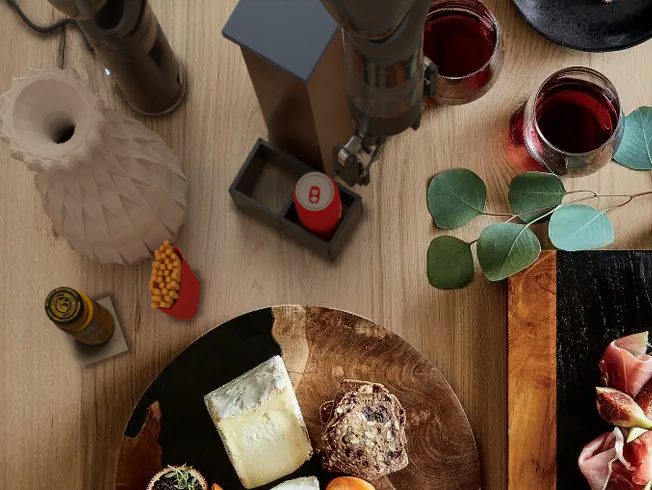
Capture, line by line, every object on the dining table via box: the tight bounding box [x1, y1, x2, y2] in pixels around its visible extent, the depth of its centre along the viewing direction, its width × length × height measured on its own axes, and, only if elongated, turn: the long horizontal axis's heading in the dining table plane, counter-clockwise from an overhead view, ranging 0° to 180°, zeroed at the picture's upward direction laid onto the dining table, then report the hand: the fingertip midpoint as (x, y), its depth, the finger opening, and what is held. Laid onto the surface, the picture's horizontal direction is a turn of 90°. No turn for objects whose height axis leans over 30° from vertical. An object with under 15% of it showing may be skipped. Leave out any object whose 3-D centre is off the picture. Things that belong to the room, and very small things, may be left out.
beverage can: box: [293, 172, 345, 243], centre depth 116 cm, size 6×6×12 cm
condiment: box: [44, 286, 129, 367], centre depth 116 cm, size 7×8×12 cm
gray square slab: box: [221, 0, 341, 85], centre depth 91 cm, size 11×10×1 cm
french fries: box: [148, 240, 201, 321], centre depth 116 cm, size 9×4×13 cm, turn 173°
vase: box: [0, 63, 188, 266], centre depth 107 cm, size 20×20×30 cm
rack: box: [227, 136, 365, 264], centre depth 119 cm, size 17×9×6 cm, turn 60°
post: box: [239, 27, 354, 178], centre depth 107 cm, size 9×8×30 cm
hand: (386, 151), depth 94 cm, fingers open, 8 cm apart
